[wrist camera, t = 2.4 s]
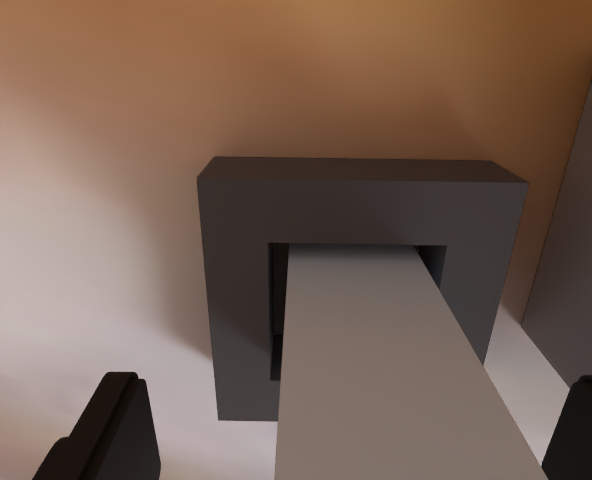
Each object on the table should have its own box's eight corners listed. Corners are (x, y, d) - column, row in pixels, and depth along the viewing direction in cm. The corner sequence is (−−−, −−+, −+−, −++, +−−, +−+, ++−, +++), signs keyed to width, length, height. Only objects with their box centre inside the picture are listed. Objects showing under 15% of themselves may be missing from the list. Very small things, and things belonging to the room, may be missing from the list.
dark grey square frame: (446, 375, 17) (468, 424, 15) (229, 371, 17) (218, 420, 15) (490, 160, 14) (529, 182, 11) (214, 156, 14) (196, 177, 11)
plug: (392, 324, 16) (524, 724, 7) (289, 322, 16) (272, 718, 7) (404, 230, 15) (605, 579, 5) (290, 228, 15) (268, 572, 5)
